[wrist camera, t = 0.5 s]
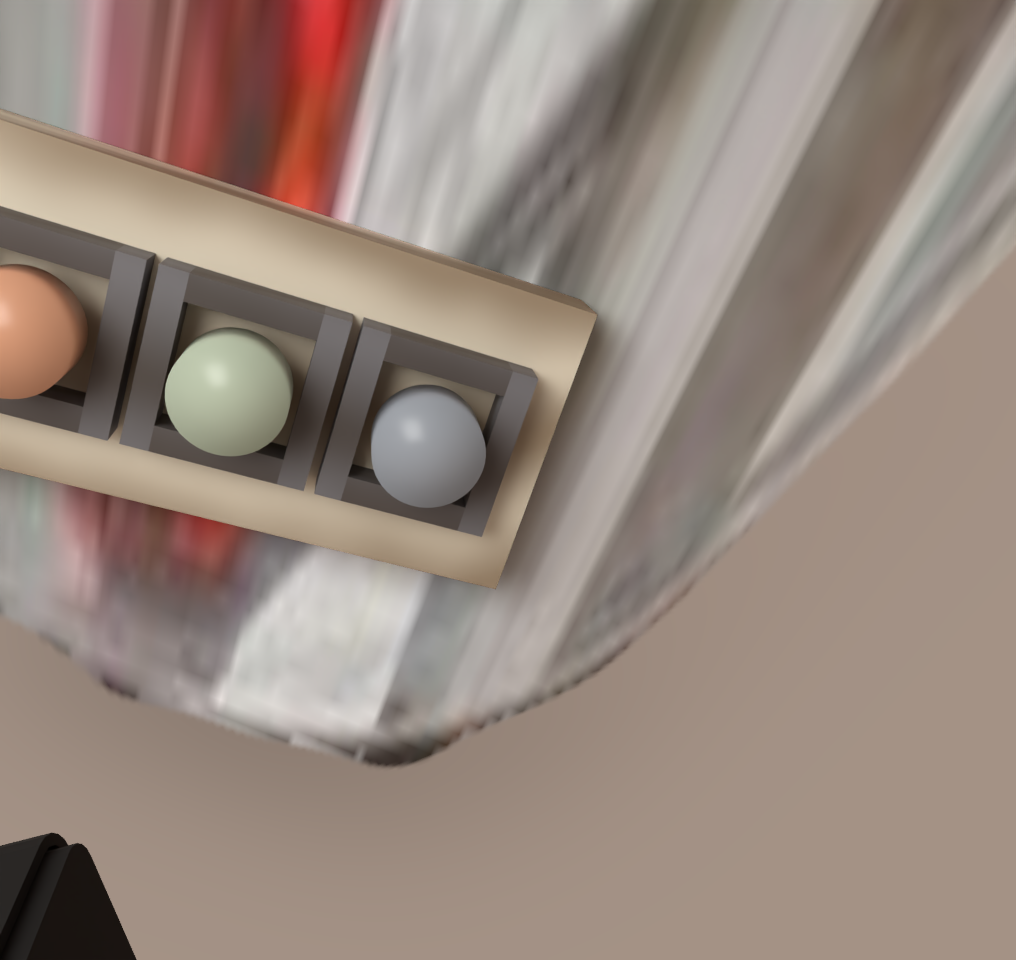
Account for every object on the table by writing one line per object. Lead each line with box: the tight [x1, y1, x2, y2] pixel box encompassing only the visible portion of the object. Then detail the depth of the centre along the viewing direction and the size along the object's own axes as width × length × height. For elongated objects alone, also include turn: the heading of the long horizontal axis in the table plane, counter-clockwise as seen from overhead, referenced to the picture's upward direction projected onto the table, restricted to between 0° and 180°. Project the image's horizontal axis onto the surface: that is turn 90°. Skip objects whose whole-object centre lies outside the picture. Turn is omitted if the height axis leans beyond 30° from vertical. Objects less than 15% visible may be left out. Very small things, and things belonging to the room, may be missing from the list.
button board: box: [0, 109, 597, 589], centre depth 36 cm, size 12×24×4 cm, turn 71°
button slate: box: [371, 384, 486, 508], centre depth 34 cm, size 4×4×2 cm
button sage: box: [165, 327, 293, 456], centre depth 33 cm, size 4×4×2 cm
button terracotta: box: [0, 264, 88, 399], centre depth 31 cm, size 4×4×2 cm
